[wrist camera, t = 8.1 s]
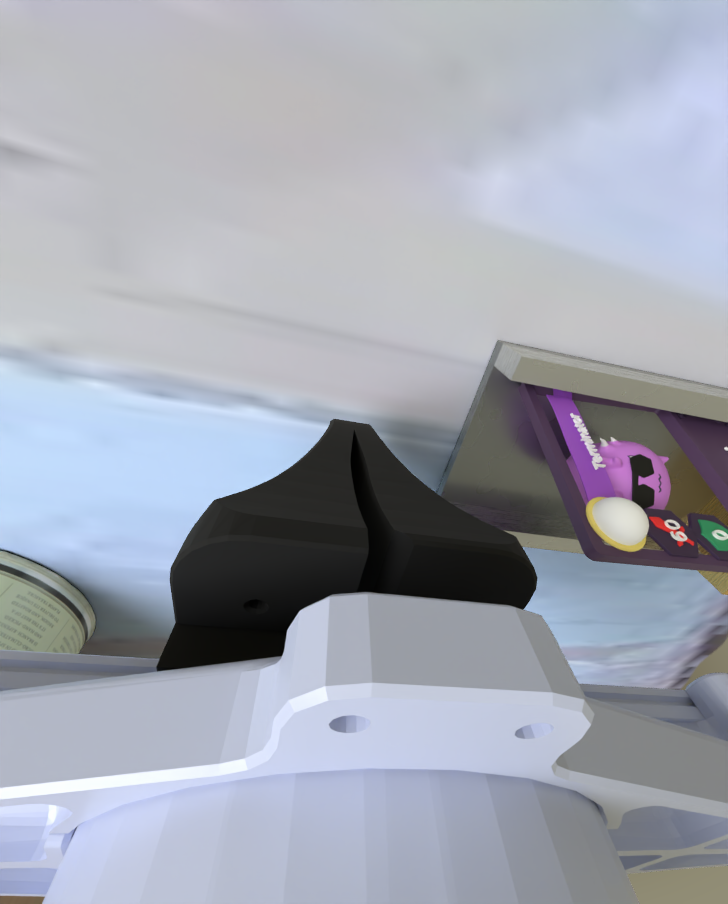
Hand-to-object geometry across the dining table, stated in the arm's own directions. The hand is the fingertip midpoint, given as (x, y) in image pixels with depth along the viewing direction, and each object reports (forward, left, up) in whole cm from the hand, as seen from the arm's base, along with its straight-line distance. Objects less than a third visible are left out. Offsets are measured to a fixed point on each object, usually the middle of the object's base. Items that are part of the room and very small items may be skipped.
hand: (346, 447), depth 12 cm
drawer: (0, -12, -2) cm, 12 cm away
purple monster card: (+1, -11, -2) cm, 11 cm away
